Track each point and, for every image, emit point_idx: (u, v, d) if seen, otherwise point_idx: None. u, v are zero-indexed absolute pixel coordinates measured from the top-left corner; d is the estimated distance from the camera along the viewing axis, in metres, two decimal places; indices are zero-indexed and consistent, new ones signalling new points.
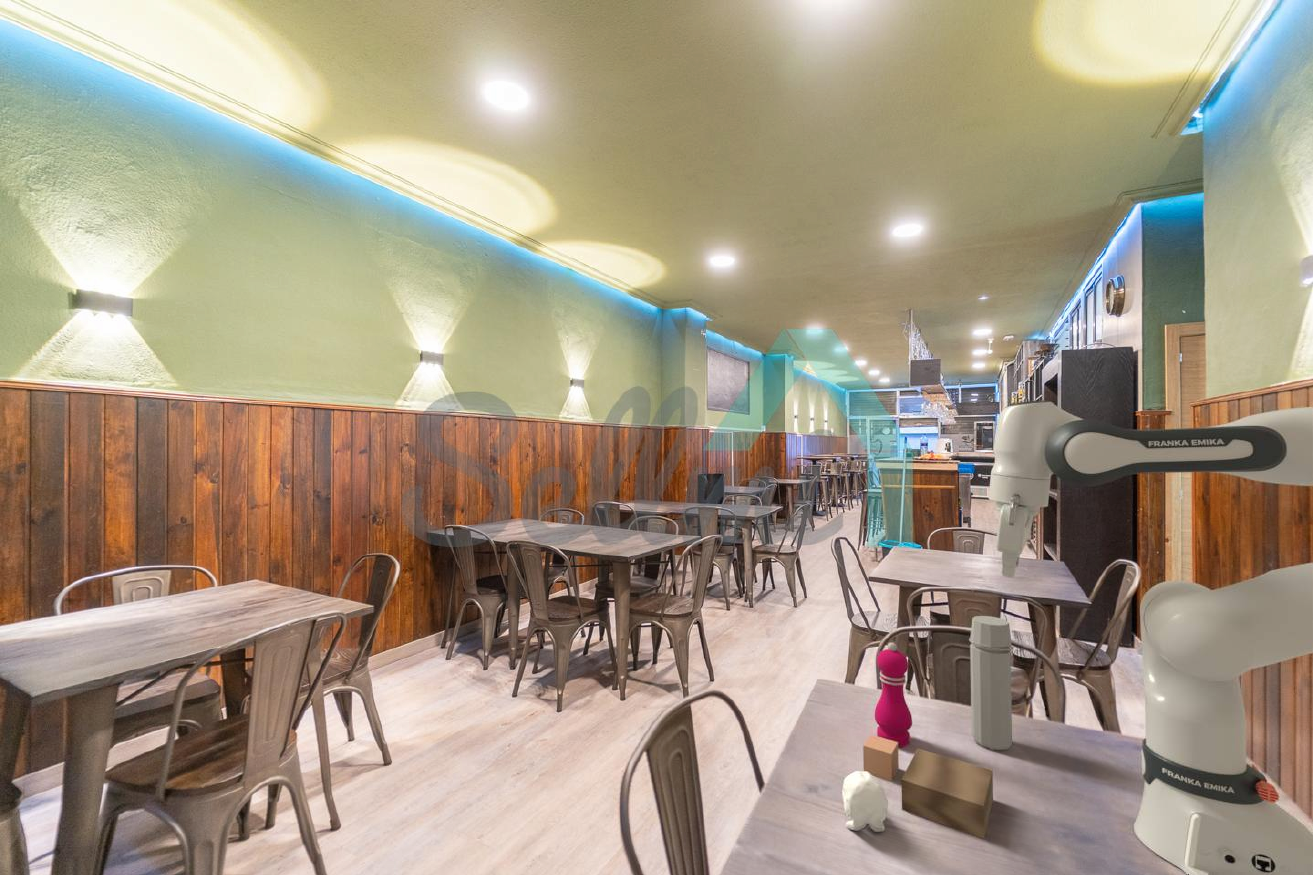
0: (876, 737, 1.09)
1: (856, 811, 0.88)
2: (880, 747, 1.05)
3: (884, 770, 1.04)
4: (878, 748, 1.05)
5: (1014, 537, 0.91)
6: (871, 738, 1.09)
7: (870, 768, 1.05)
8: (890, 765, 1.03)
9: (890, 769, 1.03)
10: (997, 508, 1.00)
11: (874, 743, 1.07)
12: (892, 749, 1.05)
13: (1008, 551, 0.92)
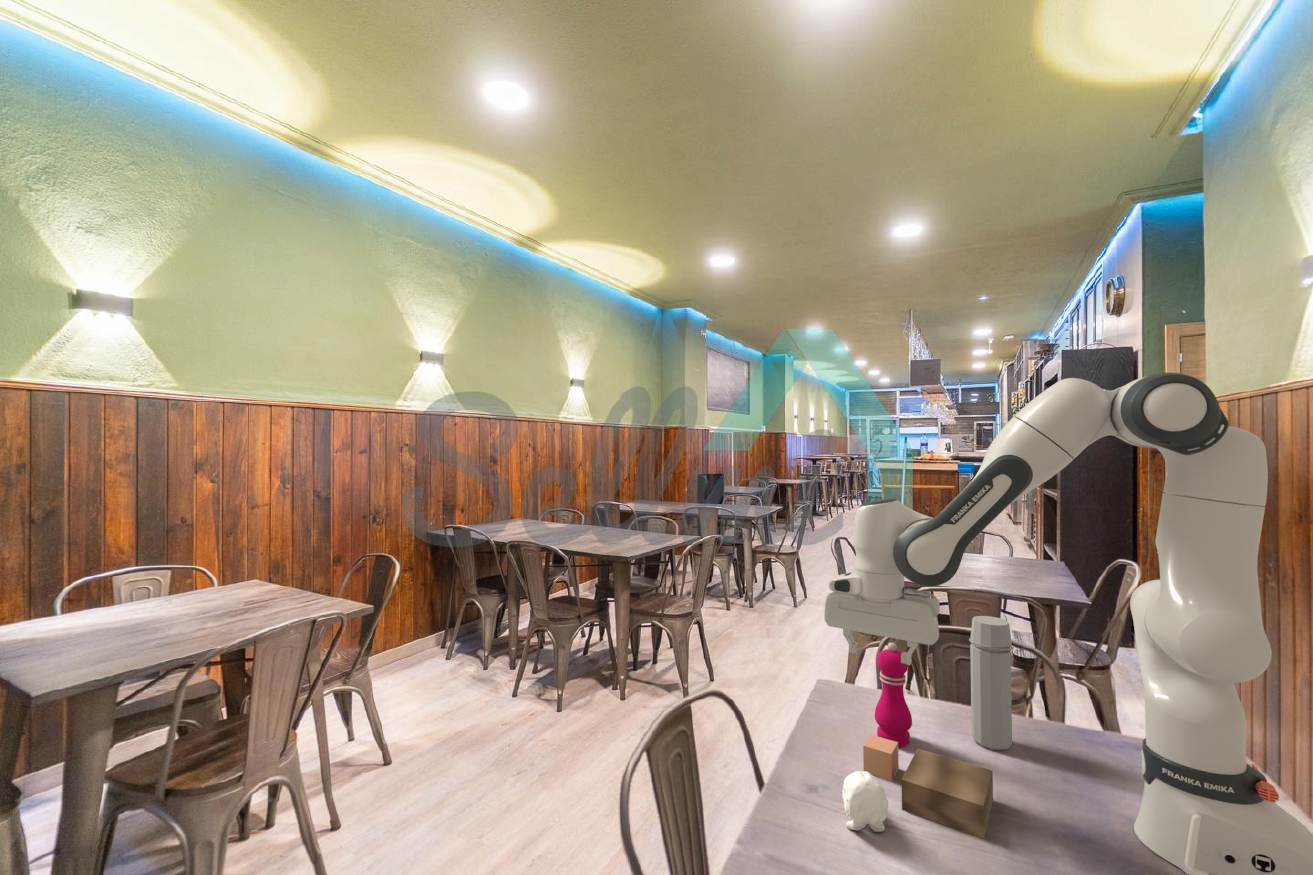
0: (876, 737, 1.09)
1: (856, 811, 0.88)
2: (880, 747, 1.05)
3: (884, 770, 1.04)
4: (878, 748, 1.05)
5: (937, 627, 1.02)
6: (871, 738, 1.09)
7: (870, 768, 1.05)
8: (890, 765, 1.03)
9: (890, 769, 1.03)
10: (882, 605, 1.04)
11: (874, 743, 1.07)
12: (892, 749, 1.05)
13: None
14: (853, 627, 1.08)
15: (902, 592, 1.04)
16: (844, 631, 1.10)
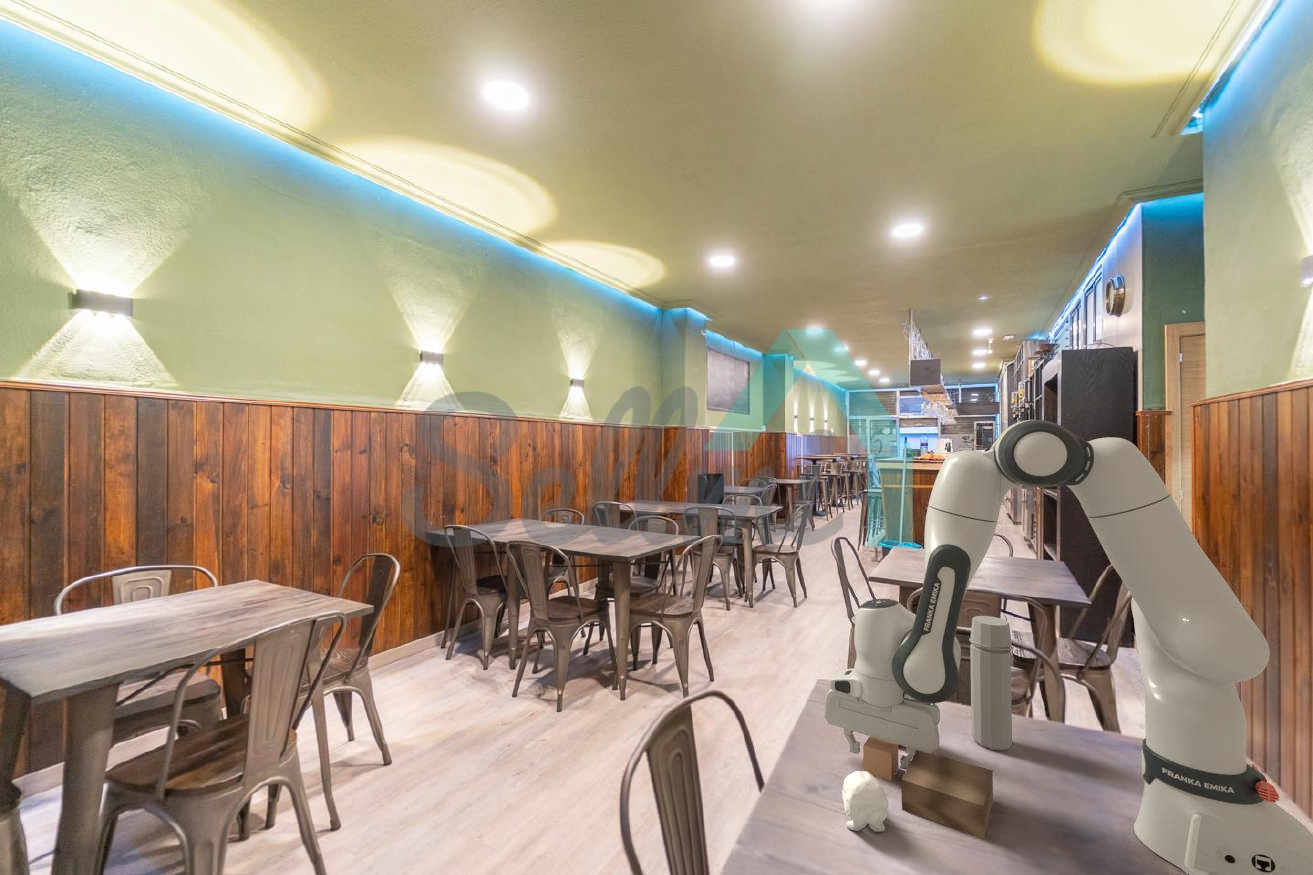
0: None
1: (856, 811, 0.88)
2: (880, 747, 1.05)
3: (884, 770, 1.04)
4: (878, 748, 1.05)
5: (938, 734, 1.01)
6: (871, 738, 1.09)
7: (870, 768, 1.05)
8: (890, 765, 1.03)
9: (890, 769, 1.03)
10: (883, 709, 1.04)
11: (874, 743, 1.07)
12: (892, 749, 1.05)
13: (936, 749, 1.01)
14: (853, 728, 1.08)
15: (903, 697, 1.04)
16: (845, 730, 1.10)
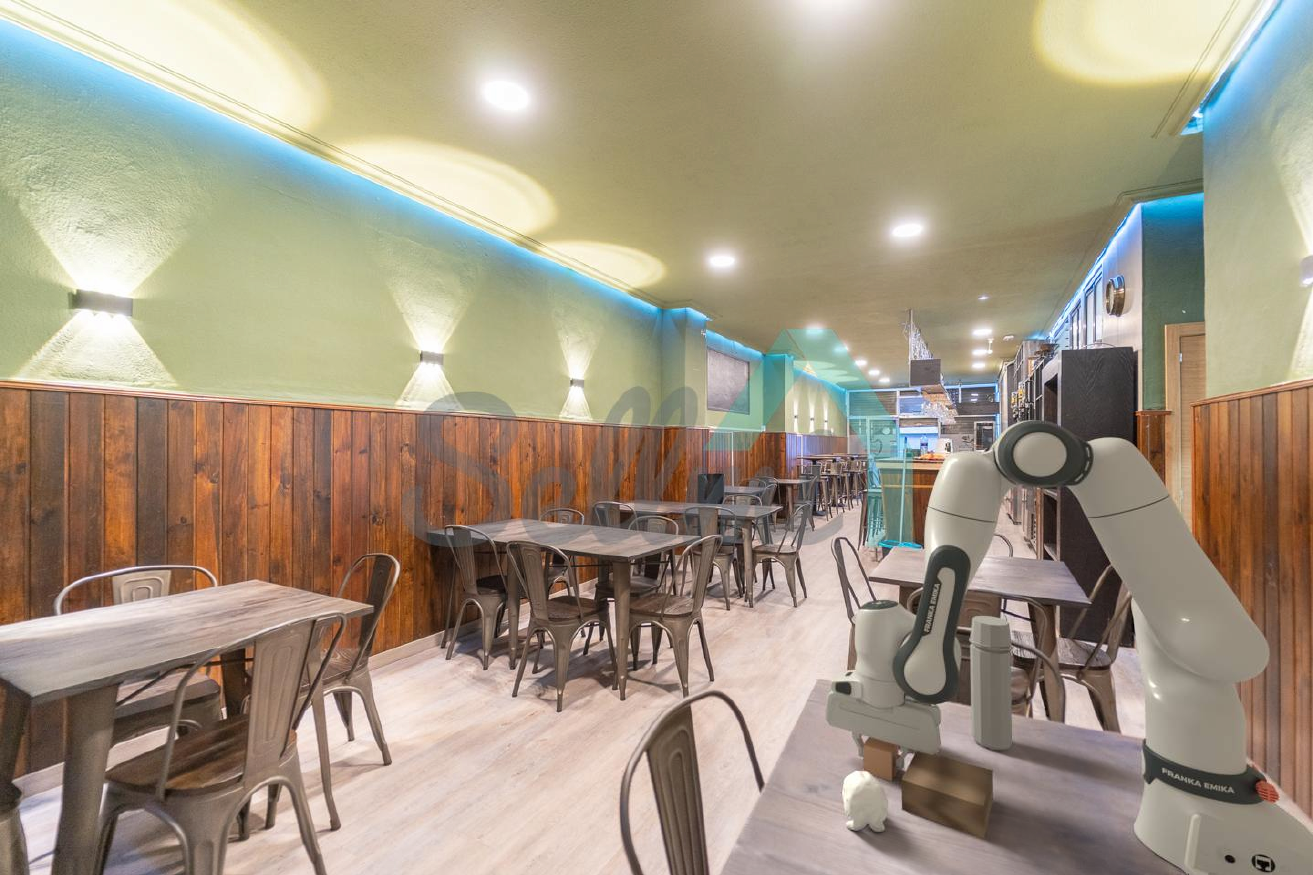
0: None
1: (856, 811, 0.88)
2: (880, 747, 1.05)
3: (884, 770, 1.04)
4: (878, 748, 1.05)
5: (939, 735, 1.01)
6: (871, 738, 1.09)
7: (870, 767, 1.05)
8: (890, 764, 1.03)
9: (890, 769, 1.03)
10: (884, 711, 1.04)
11: (874, 742, 1.07)
12: (892, 749, 1.05)
13: (937, 750, 1.01)
14: (854, 729, 1.08)
15: (903, 698, 1.04)
16: (853, 734, 1.09)
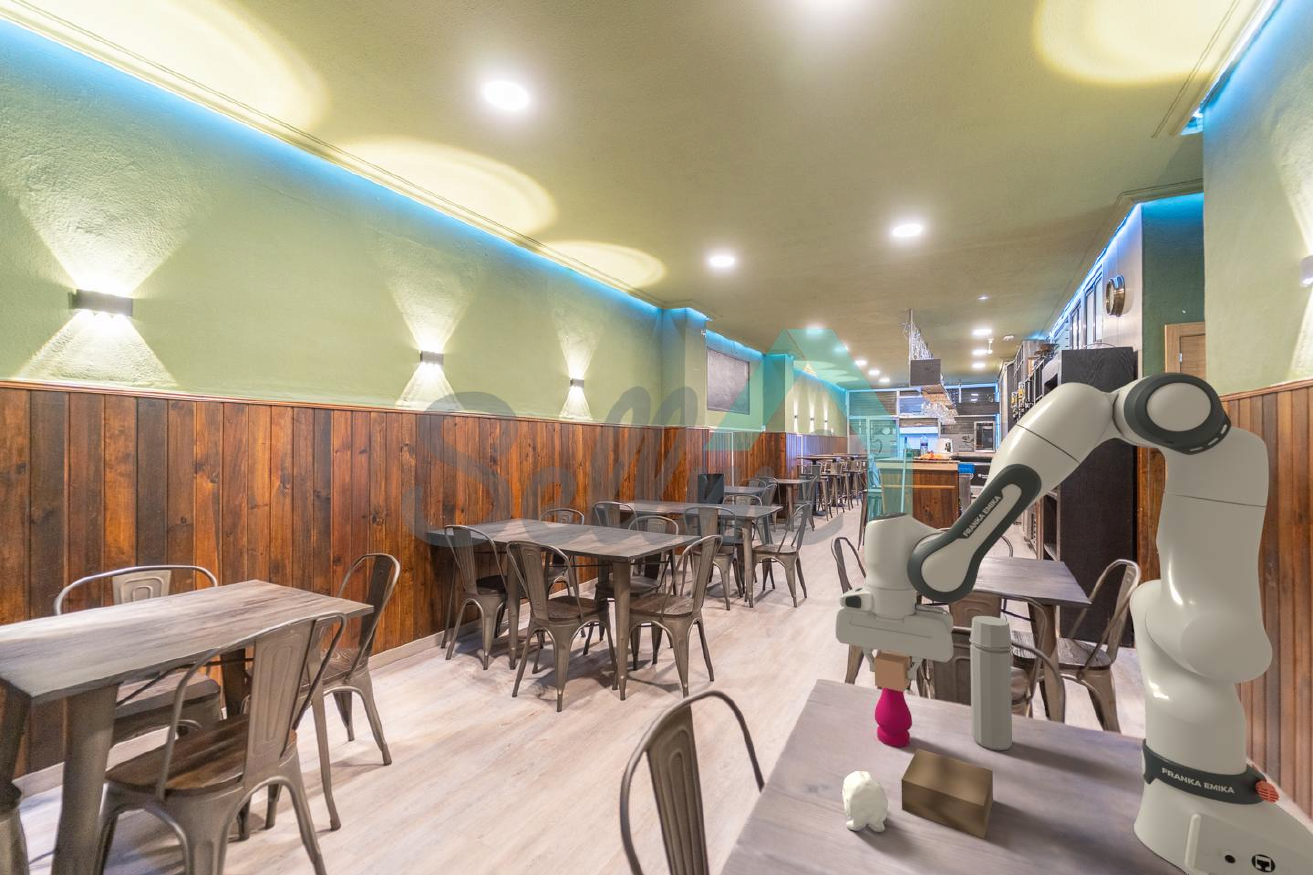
0: (887, 652, 1.07)
1: (856, 811, 0.88)
2: (892, 659, 1.04)
3: (896, 681, 1.02)
4: (890, 660, 1.03)
5: (951, 643, 1.00)
6: (882, 653, 1.07)
7: (881, 680, 1.04)
8: (902, 675, 1.02)
9: (902, 679, 1.02)
10: (895, 621, 1.02)
11: (885, 656, 1.05)
12: (904, 660, 1.03)
13: (950, 658, 0.99)
14: (865, 644, 1.06)
15: (915, 608, 1.02)
16: (864, 649, 1.07)
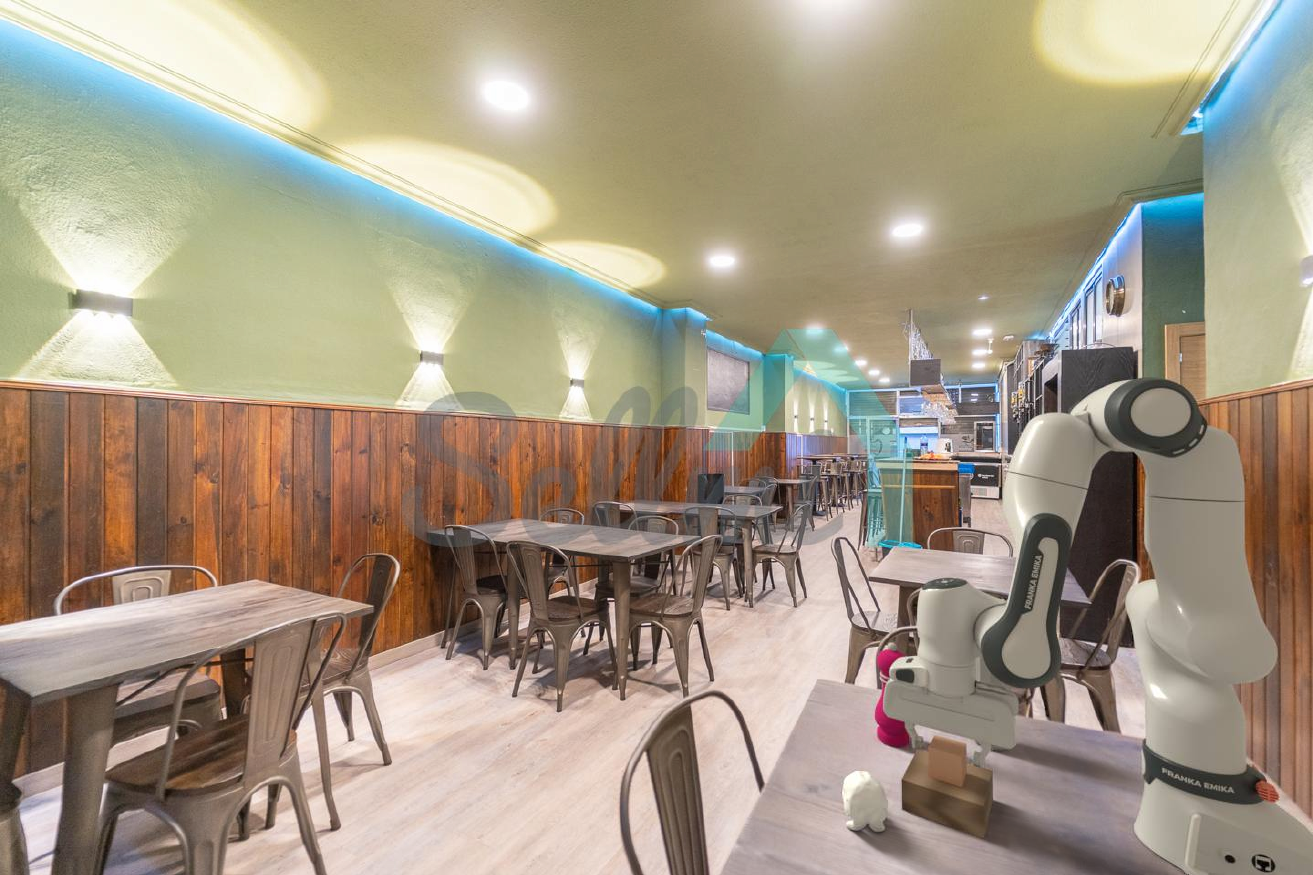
0: (941, 738, 0.99)
1: (856, 811, 0.88)
2: (948, 749, 0.95)
3: (953, 775, 0.94)
4: (946, 750, 0.95)
5: (1016, 727, 0.91)
6: (935, 739, 0.98)
7: (936, 772, 0.95)
8: (960, 769, 0.93)
9: (960, 773, 0.93)
10: (953, 700, 0.93)
11: (940, 744, 0.97)
12: (961, 751, 0.94)
13: None
14: (917, 721, 0.98)
15: (974, 686, 0.93)
16: (906, 724, 0.99)
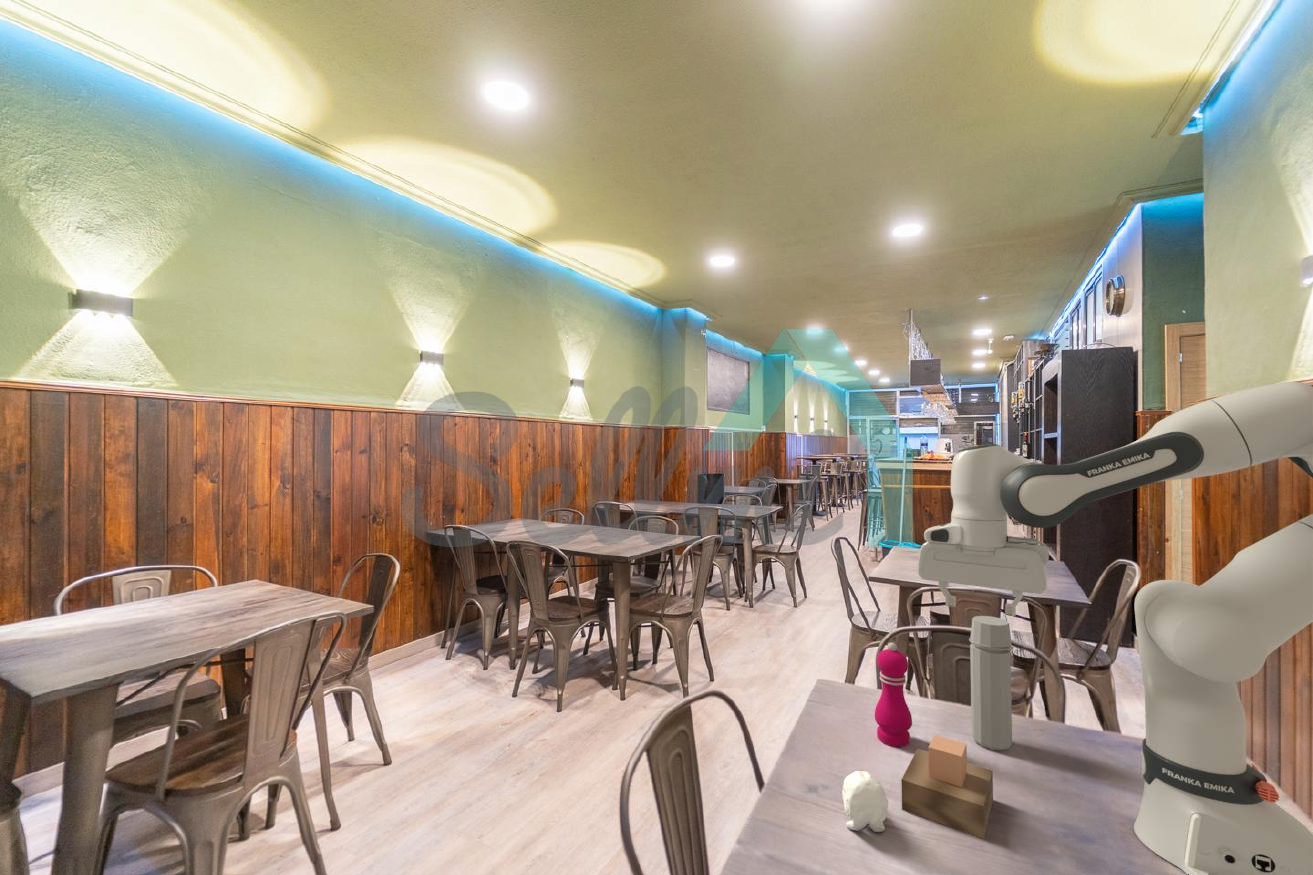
0: (941, 738, 0.99)
1: (856, 811, 0.88)
2: (948, 749, 0.95)
3: (953, 775, 0.94)
4: (946, 750, 0.95)
5: None
6: (935, 739, 0.98)
7: (936, 772, 0.95)
8: (960, 769, 0.93)
9: (960, 773, 0.93)
10: (986, 553, 0.99)
11: (940, 744, 0.97)
12: (961, 751, 0.94)
13: None
14: (951, 579, 1.04)
15: (1006, 540, 0.99)
16: (940, 584, 1.05)
